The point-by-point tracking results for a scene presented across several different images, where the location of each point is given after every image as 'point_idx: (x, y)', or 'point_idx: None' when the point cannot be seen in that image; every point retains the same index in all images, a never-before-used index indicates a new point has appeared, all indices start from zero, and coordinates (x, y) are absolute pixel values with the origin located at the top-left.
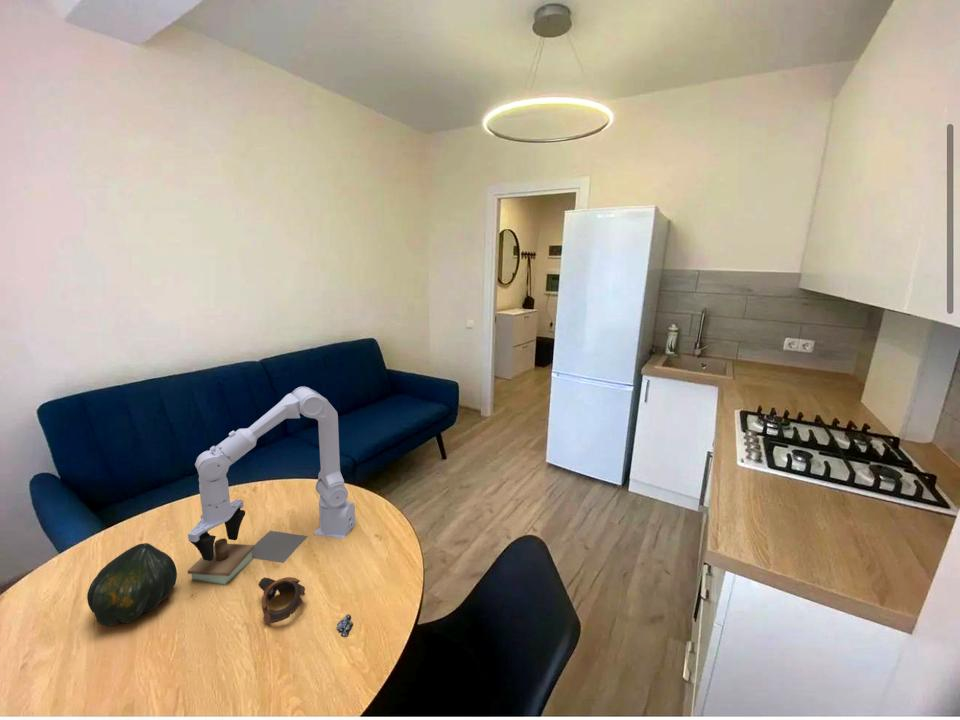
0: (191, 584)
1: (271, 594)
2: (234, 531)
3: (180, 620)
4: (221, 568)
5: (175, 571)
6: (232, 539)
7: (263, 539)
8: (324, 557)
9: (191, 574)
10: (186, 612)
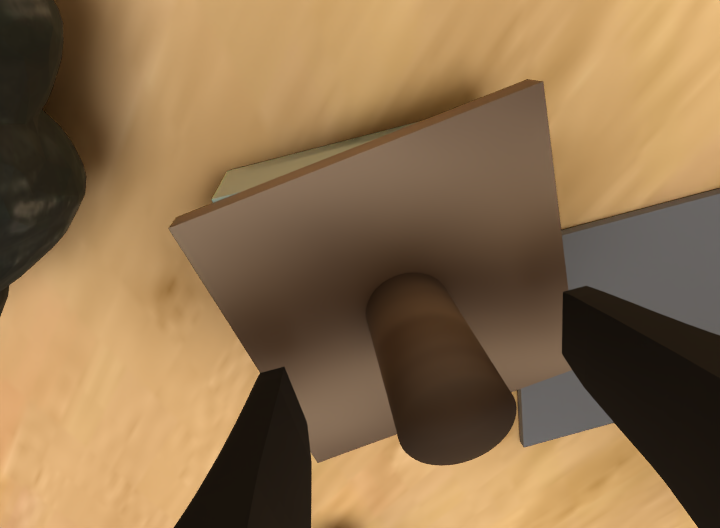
0: (208, 195)
1: None
2: (633, 420)
3: (51, 396)
4: (324, 403)
5: (19, 275)
6: (564, 333)
7: (684, 222)
8: (590, 514)
9: (218, 187)
10: (92, 374)
